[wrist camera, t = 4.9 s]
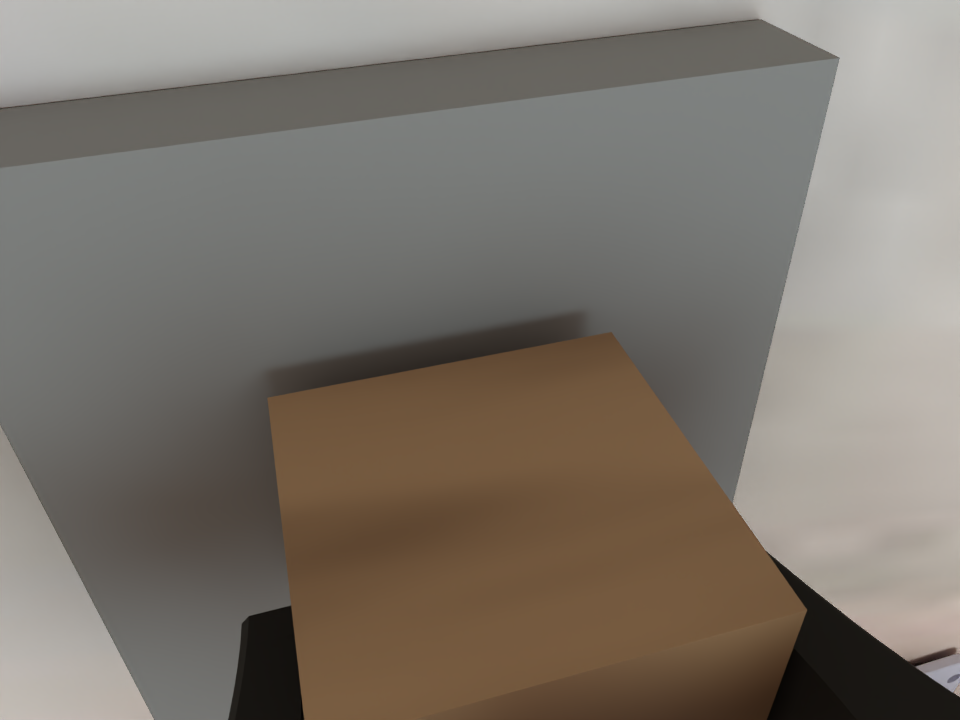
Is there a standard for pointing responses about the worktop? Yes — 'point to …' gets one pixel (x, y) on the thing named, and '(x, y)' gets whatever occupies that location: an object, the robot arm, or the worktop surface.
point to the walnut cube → (519, 549)
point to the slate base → (370, 282)
